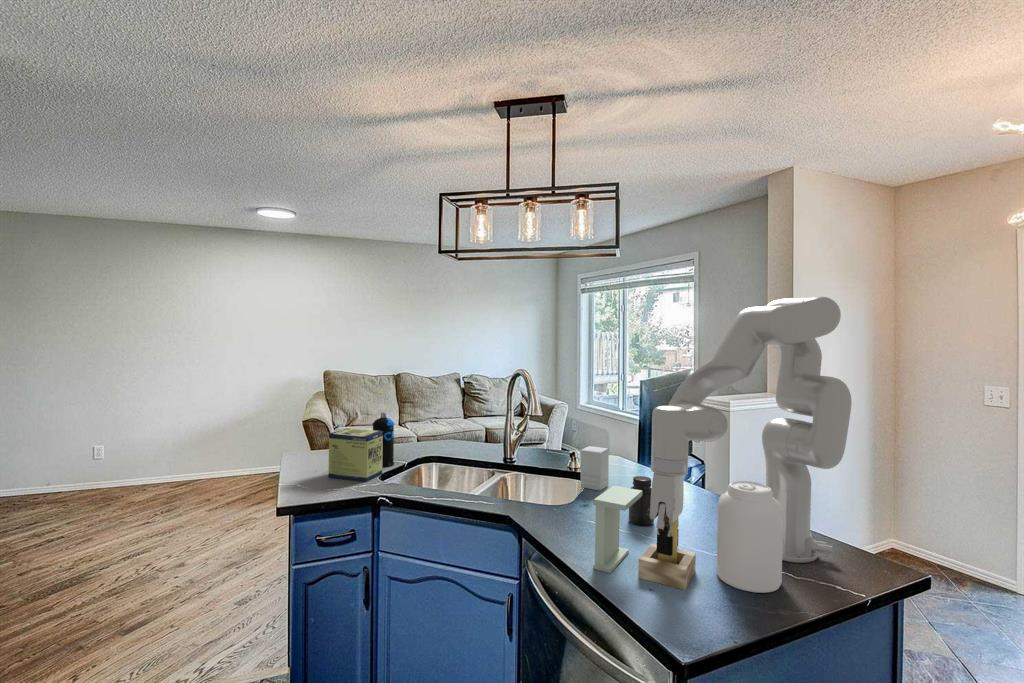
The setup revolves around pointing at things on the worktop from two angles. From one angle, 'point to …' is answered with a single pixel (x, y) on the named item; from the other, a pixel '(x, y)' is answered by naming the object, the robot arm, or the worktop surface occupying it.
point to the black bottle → (386, 438)
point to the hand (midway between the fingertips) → (667, 549)
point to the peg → (675, 542)
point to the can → (750, 537)
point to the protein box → (355, 454)
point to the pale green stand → (611, 526)
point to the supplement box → (594, 467)
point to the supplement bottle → (641, 502)
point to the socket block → (667, 568)
